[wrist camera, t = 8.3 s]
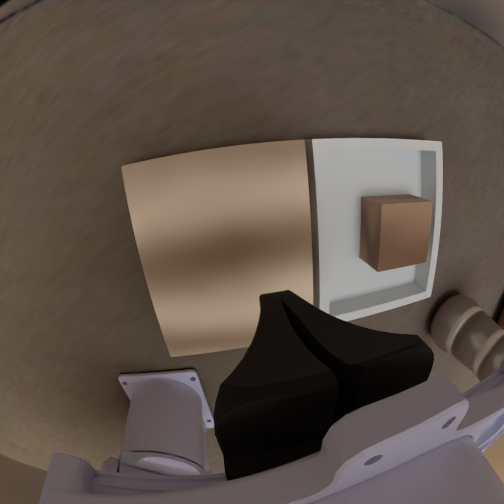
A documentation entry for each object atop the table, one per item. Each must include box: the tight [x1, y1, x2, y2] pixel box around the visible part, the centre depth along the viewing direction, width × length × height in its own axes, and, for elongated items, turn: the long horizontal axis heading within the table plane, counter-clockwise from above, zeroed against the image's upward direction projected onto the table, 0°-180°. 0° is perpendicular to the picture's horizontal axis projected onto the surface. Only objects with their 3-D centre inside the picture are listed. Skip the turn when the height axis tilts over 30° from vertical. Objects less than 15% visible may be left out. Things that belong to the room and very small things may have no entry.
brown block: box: [359, 194, 432, 272], centre depth 20 cm, size 5×5×3 cm
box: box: [305, 138, 443, 321], centre depth 21 cm, size 14×12×2 cm
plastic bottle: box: [431, 294, 504, 382], centre depth 18 cm, size 6×7×20 cm
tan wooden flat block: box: [121, 140, 313, 357], centre depth 19 cm, size 14×11×3 cm
